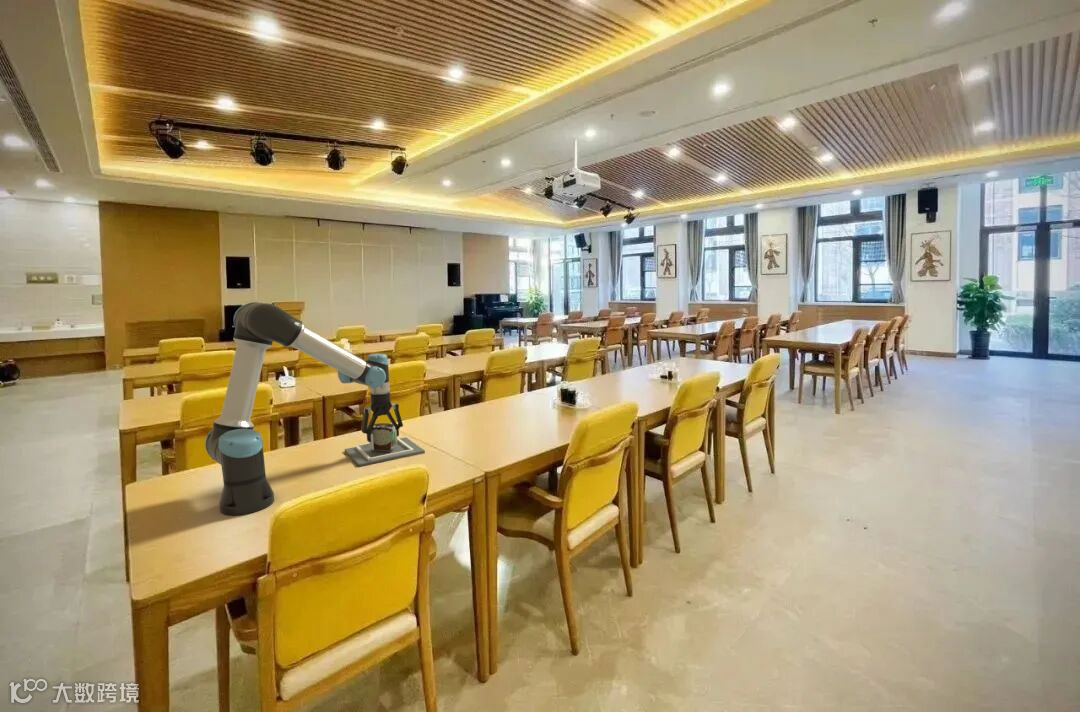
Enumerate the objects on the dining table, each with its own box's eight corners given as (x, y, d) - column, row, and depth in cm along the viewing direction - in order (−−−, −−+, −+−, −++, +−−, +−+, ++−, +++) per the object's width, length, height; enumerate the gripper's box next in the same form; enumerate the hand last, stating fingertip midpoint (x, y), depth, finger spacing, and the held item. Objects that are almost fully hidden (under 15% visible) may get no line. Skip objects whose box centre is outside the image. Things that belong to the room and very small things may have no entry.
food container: (402, 447, 215) (401, 423, 214) (394, 451, 209) (393, 427, 208) (376, 445, 218) (375, 422, 217) (367, 449, 213) (366, 425, 211)
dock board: (359, 466, 198) (358, 461, 197) (344, 451, 216) (344, 446, 215) (424, 452, 212) (424, 448, 212) (406, 439, 230) (405, 435, 230)
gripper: (355, 398, 201) (359, 454, 204) (409, 390, 213) (412, 443, 216) (350, 394, 207) (354, 449, 211) (403, 387, 219) (406, 439, 222)
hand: (383, 446), depth 213 cm, fingers closed on food container, 9 cm apart
